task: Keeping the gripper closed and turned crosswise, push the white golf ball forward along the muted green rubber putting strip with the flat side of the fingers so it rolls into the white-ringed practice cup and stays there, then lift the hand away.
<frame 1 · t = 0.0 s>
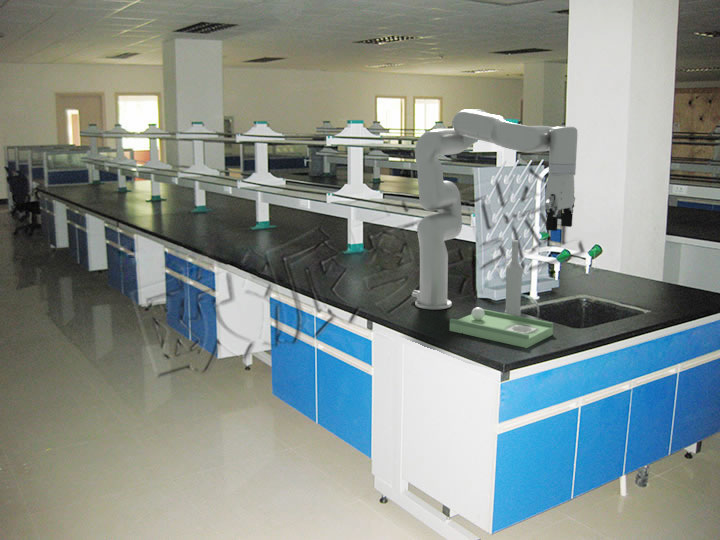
hand: (559, 228, 204), 31 cm above the counter, fingers open, 9 cm apart
putting mat: (500, 332, 209), on the counter
ball: (478, 313, 213), point 4 cm above the counter, touching putting mat
bottle: (512, 317, 226), on the counter
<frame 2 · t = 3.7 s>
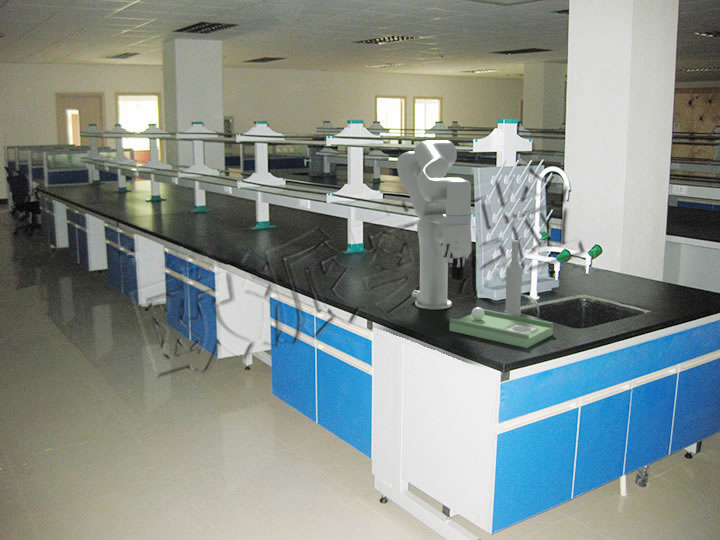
hand: (457, 279, 215), 14 cm above the counter, fingers closed
nothing on the counter moved.
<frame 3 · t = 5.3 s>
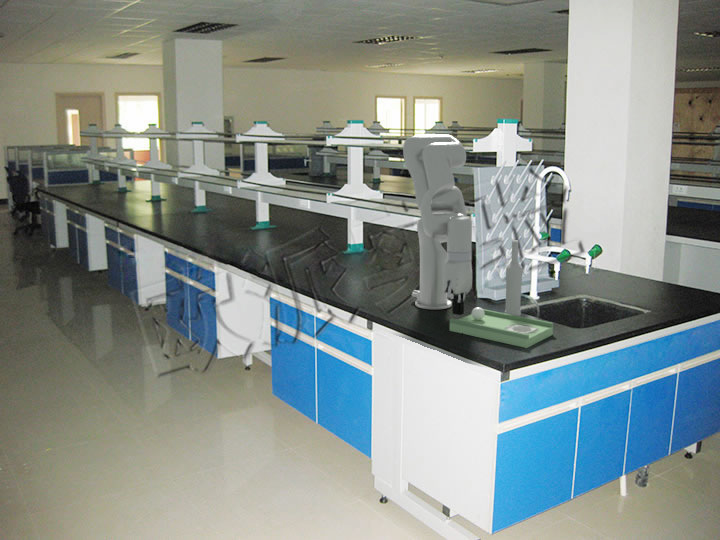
hand: (458, 313, 218), 3 cm above the counter, fingers closed
nothing on the counter moved.
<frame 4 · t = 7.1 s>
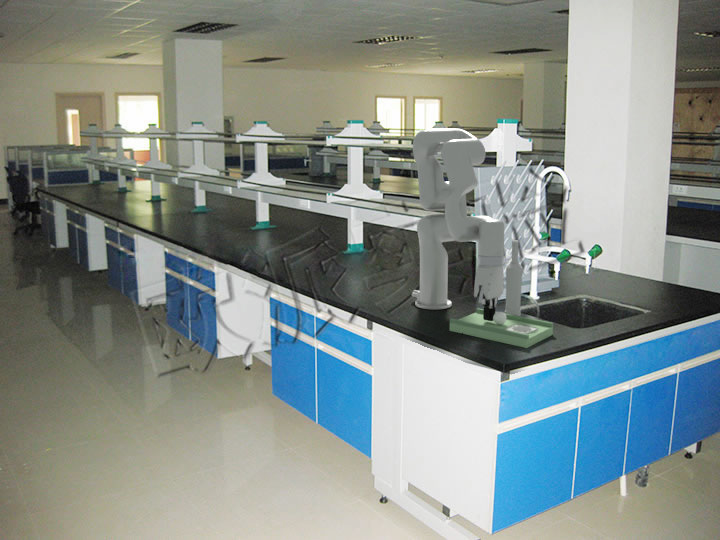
hand: (489, 319, 210), 3 cm above the counter, fingers closed
ball: (499, 318, 208), point 4 cm above the counter, tilted 142°, touching putting mat
everything else where it was.
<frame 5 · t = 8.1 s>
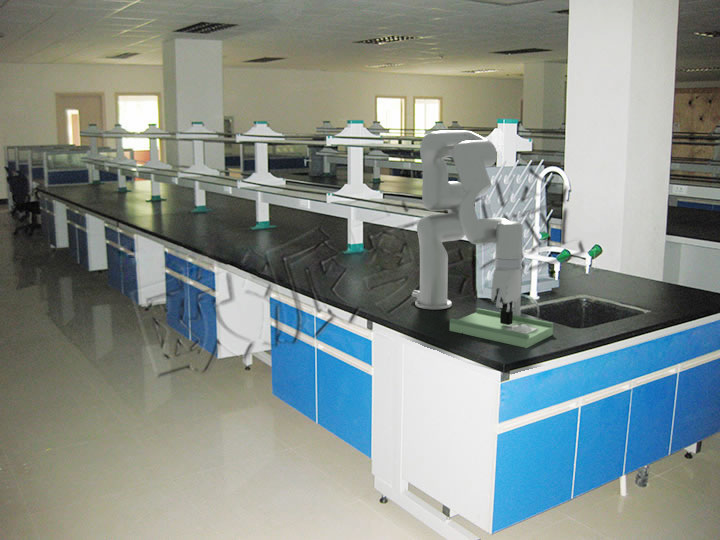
hand: (506, 323, 207), 3 cm above the counter, fingers closed
ball: (523, 331, 203), point 2 cm above the counter, tilted 115°
everything else where it was.
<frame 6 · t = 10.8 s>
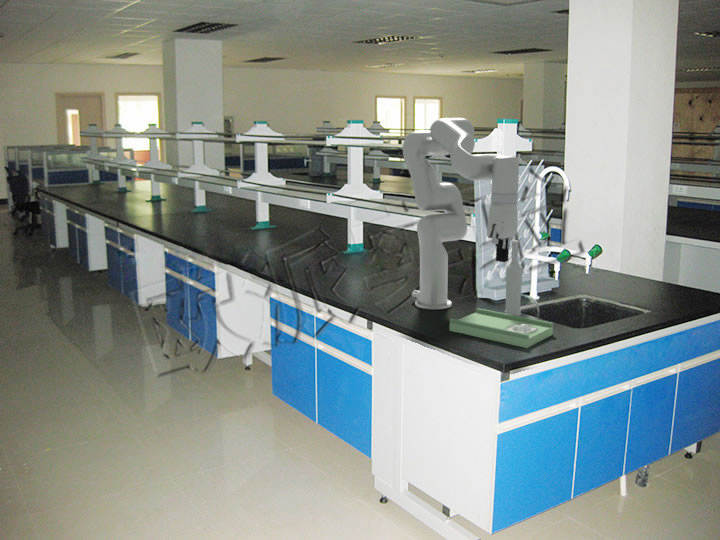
hand: (502, 261, 204), 22 cm above the counter, fingers closed
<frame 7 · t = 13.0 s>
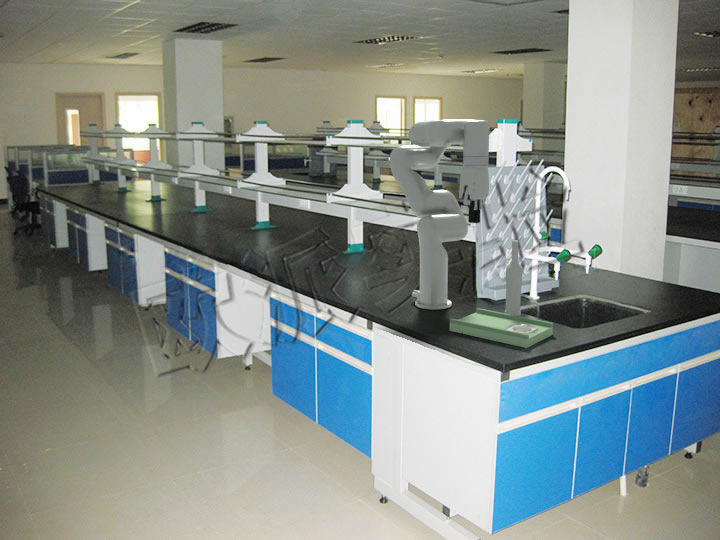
hand: (474, 222, 212), 32 cm above the counter, fingers closed
nothing on the counter moved.
at the end: ball 0.4 cm from the target spot in the putting mat, point 2.0 cm above the putting mat's base; ball point 2.0 cm above the counter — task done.
